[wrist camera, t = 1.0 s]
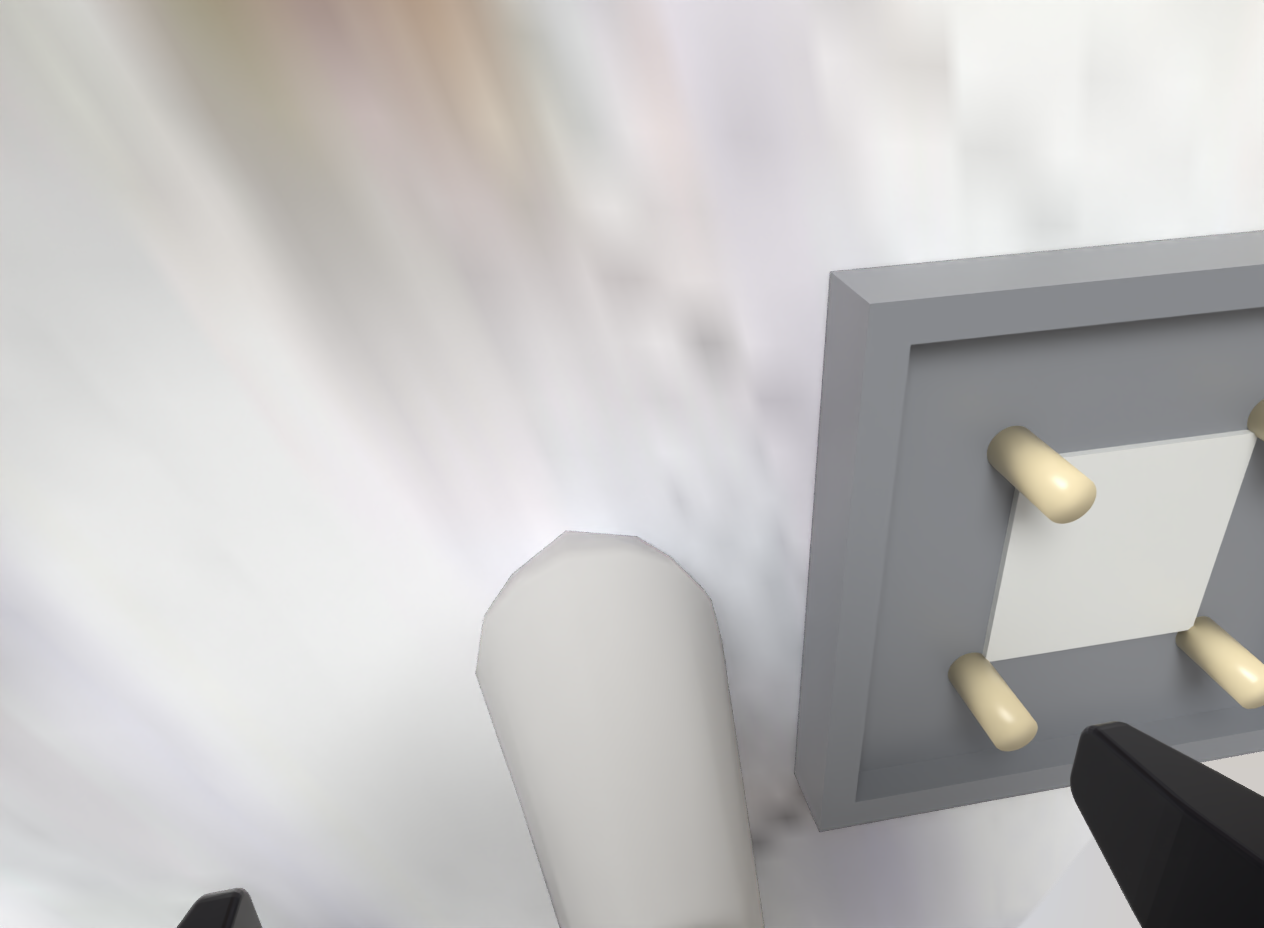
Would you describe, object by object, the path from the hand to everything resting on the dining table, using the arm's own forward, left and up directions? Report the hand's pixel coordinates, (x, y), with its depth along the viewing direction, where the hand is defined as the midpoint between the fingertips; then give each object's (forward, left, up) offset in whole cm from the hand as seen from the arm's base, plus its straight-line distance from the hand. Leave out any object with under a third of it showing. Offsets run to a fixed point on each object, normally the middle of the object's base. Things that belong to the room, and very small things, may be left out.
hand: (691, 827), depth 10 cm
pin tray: (-6, -14, -13) cm, 20 cm away
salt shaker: (-6, 0, -13) cm, 14 cm away
